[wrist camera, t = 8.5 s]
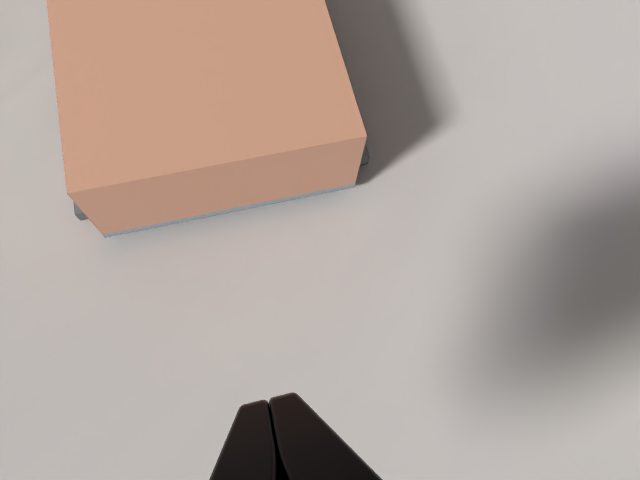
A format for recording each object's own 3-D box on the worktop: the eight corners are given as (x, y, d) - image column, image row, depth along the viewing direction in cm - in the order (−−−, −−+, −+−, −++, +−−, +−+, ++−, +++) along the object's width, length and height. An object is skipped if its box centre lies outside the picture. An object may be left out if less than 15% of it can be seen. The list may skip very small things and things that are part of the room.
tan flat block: (366, 136, 19) (289, -113, 23) (66, 193, 18) (38, -81, 22) (354, 186, 23) (289, -35, 27) (105, 237, 22) (74, -3, 26)
